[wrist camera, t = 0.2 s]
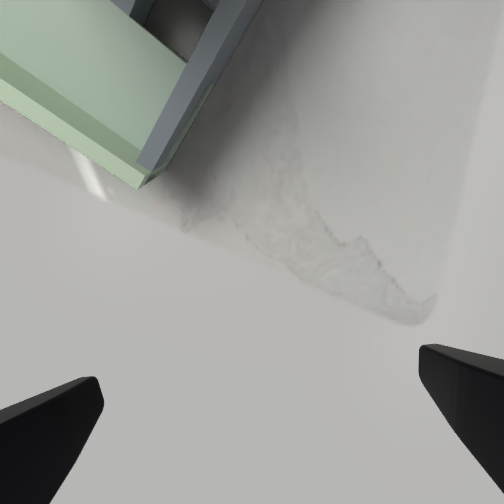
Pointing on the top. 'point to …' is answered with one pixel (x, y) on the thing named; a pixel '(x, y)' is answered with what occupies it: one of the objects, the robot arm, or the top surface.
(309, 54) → the top surface
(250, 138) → the top surface
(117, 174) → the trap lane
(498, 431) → the robot arm
